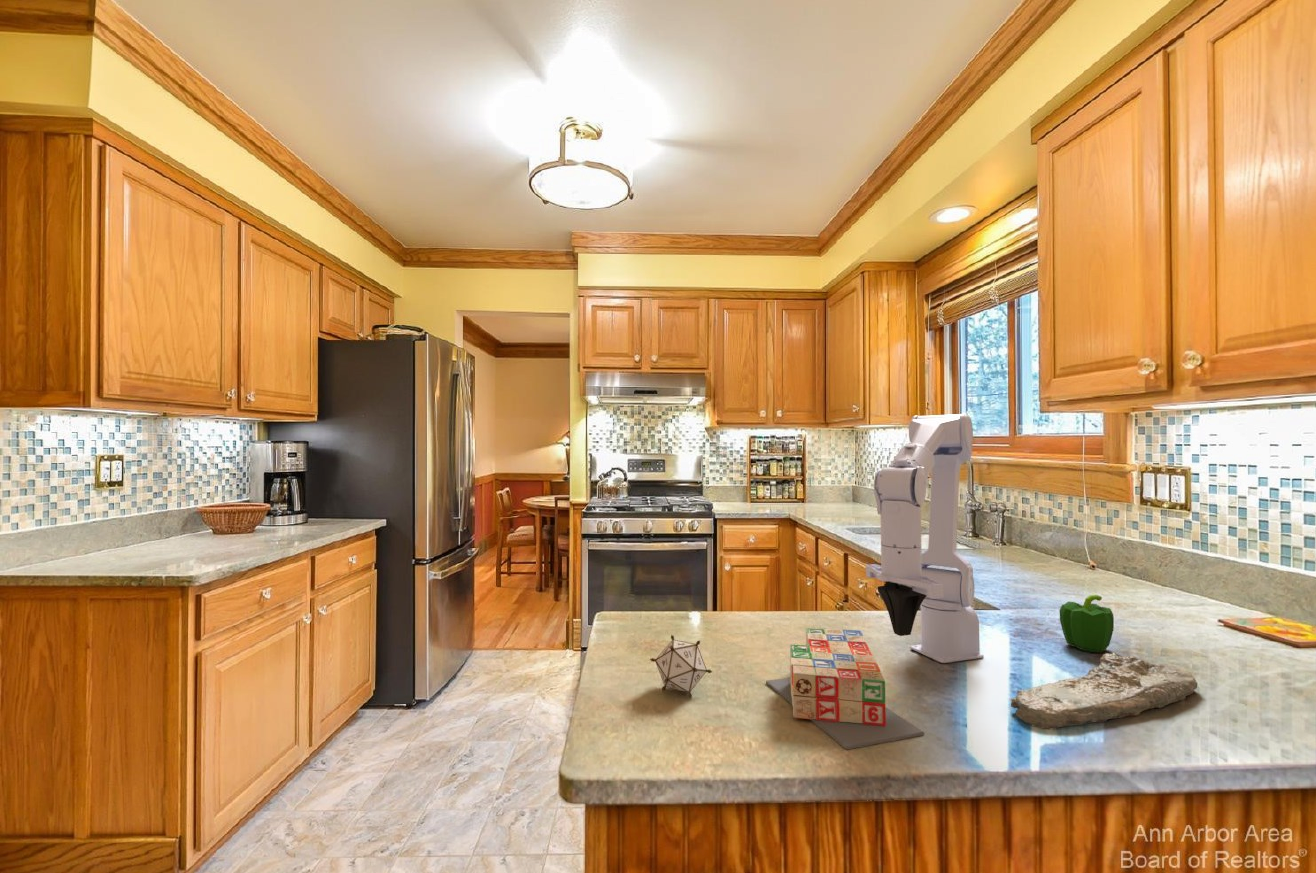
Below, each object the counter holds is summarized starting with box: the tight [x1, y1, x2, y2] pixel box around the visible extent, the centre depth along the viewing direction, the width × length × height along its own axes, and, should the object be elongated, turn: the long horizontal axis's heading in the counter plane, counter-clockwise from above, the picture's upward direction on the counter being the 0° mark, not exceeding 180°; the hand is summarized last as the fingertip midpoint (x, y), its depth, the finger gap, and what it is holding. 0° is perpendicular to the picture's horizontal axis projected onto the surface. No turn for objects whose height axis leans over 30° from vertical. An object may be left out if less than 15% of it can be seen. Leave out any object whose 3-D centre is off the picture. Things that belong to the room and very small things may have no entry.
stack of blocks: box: [789, 627, 887, 726], centre depth 87 cm, size 21×6×12 cm
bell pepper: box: [1059, 594, 1115, 653], centre depth 105 cm, size 8×8×10 cm
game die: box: [649, 634, 713, 699], centre depth 88 cm, size 9×8×10 cm
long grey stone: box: [1010, 652, 1198, 730], centre depth 83 cm, size 35×5×10 cm
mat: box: [765, 677, 925, 751], centre depth 82 cm, size 12×21×1 cm, turn 17°
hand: (902, 634), depth 86 cm, fingers closed
